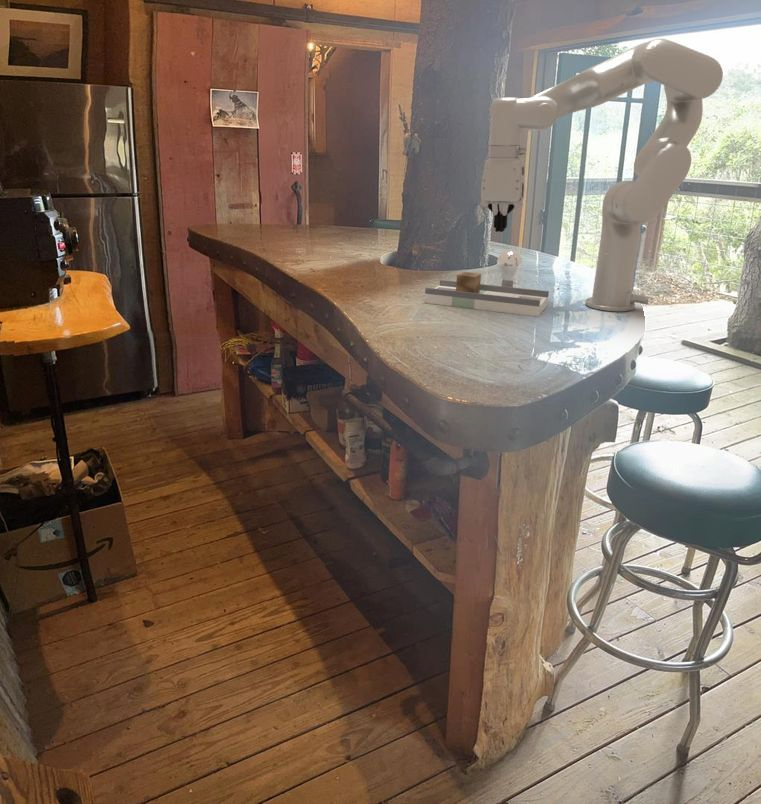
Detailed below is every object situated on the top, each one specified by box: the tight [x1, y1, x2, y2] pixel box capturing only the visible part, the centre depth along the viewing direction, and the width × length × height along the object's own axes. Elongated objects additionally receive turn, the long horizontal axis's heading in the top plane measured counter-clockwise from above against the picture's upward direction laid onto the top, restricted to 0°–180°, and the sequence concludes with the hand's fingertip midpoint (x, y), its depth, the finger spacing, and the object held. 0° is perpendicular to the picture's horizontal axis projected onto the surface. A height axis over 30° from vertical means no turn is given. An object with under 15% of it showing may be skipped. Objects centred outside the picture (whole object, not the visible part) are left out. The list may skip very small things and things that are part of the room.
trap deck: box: [424, 279, 550, 317], centre depth 171 cm, size 30×12×4 cm, turn 66°
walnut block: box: [456, 271, 482, 293], centre depth 172 cm, size 5×5×5 cm
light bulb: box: [496, 248, 523, 288], centre depth 186 cm, size 7×7×12 cm
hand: (500, 231), depth 164 cm, fingers closed
